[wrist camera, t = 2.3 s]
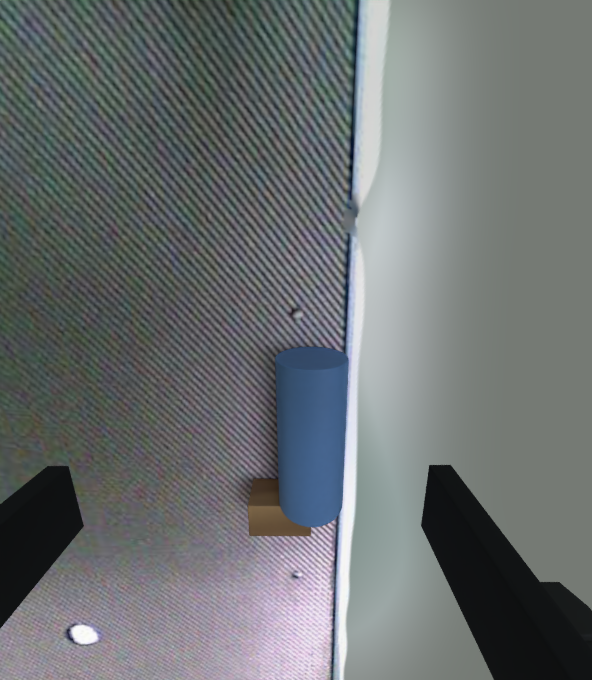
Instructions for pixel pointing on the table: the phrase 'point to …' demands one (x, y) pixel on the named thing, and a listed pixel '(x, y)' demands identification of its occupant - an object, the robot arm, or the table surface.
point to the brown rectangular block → (270, 512)
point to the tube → (311, 433)
